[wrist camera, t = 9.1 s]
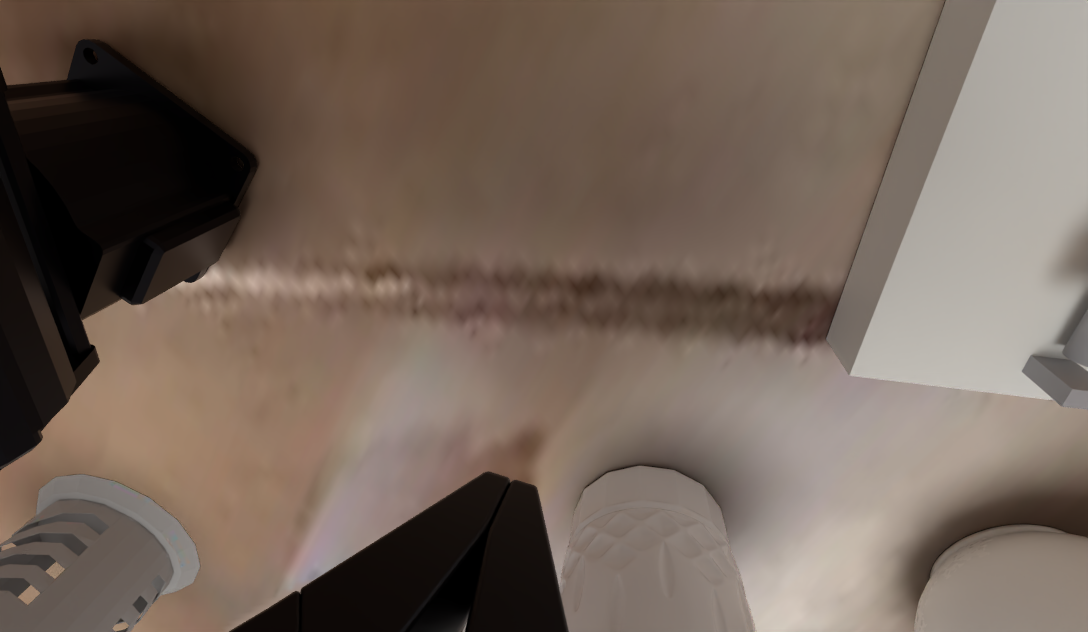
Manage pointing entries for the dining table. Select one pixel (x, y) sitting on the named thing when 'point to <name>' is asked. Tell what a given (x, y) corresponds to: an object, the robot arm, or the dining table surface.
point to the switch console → (981, 213)
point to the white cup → (651, 558)
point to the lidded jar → (1008, 583)
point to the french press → (92, 558)
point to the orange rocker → (1078, 343)
